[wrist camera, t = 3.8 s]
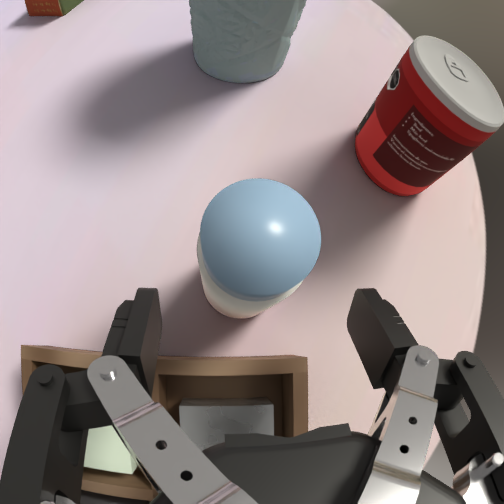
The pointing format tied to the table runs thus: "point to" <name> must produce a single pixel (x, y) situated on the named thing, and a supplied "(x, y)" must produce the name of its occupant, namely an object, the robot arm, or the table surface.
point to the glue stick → (256, 246)
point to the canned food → (426, 118)
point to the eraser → (107, 499)
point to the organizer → (192, 396)
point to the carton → (50, 7)
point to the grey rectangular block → (224, 418)
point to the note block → (107, 451)
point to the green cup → (243, 36)
